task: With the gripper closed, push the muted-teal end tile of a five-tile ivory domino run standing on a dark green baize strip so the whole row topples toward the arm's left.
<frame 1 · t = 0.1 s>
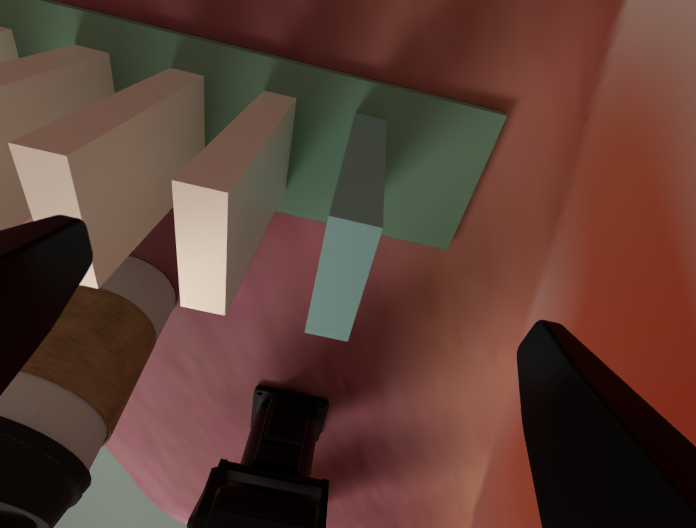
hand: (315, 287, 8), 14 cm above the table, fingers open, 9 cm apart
domino 2: (275, 143, 21), point 1 cm above the table, touching baize strip
coffee cup: (136, 285, 29), on the table
baize strip: (240, 131, 21), on the table
domino 5: (10, 81, 20), point 1 cm above the table, touching baize strip
domino 3: (189, 123, 20), point 1 cm above the table, touching baize strip
domino 1: (359, 163, 21), point 1 cm above the table, touching baize strip
domino 4: (100, 102, 20), point 1 cm above the table, touching baize strip
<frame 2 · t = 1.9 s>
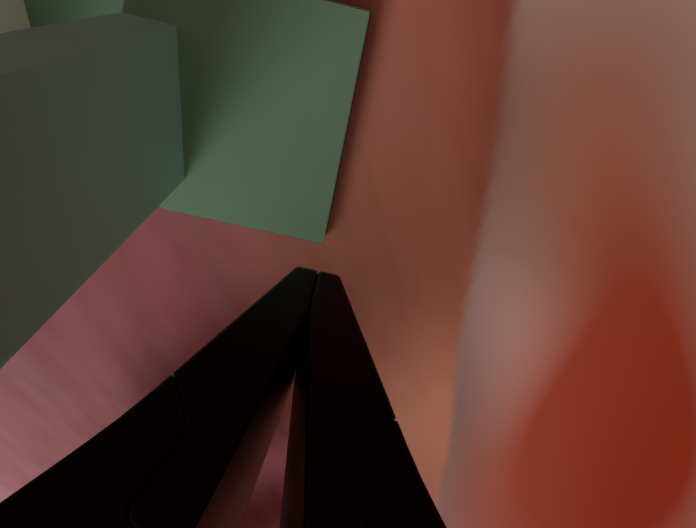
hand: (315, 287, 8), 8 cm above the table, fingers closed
domino 2: (18, 72, 13), point 1 cm above the table, touching baize strip
domino 1: (156, 105, 13), point 1 cm above the table, touching baize strip
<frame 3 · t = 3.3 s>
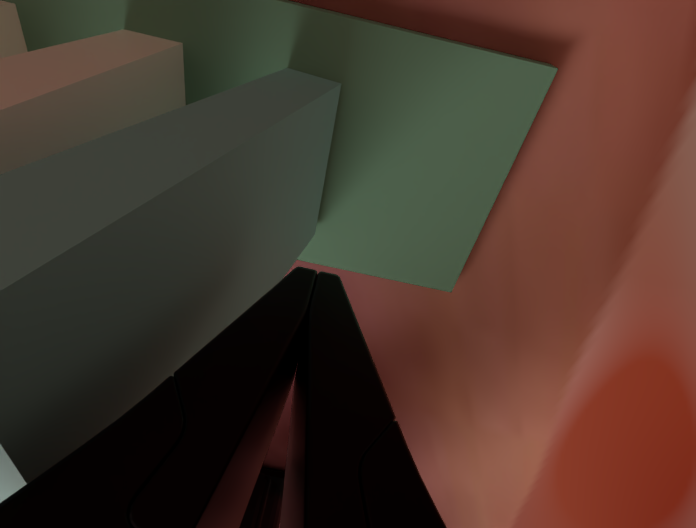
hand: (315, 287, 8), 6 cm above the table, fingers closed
domino 2: (161, 126, 12), point 1 cm above the table, touching baize strip
baize strip: (107, 106, 13), on the table
domino 3: (13, 93, 12), point 1 cm above the table, touching baize strip
domino 1: (302, 160, 12), point 1 cm above the table, tilted 12°, touching baize strip
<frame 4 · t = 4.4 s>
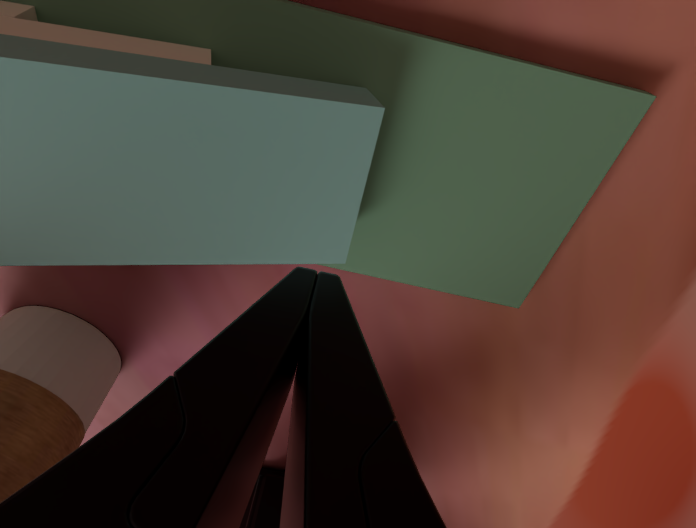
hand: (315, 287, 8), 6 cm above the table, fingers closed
domino 2: (211, 148, 12), point 1 cm above the table, tilted 70°, touching baize strip, domino 1, domino 3
coffee cup: (66, 344, 21), on the table
baize strip: (194, 125, 13), on the table
domino 3: (49, 110, 12), point 1 cm above the table, tilted 69°, touching baize strip, domino 2, domino 4
domino 1: (355, 182, 12), point 1 cm above the table, tilted 70°, touching domino 2
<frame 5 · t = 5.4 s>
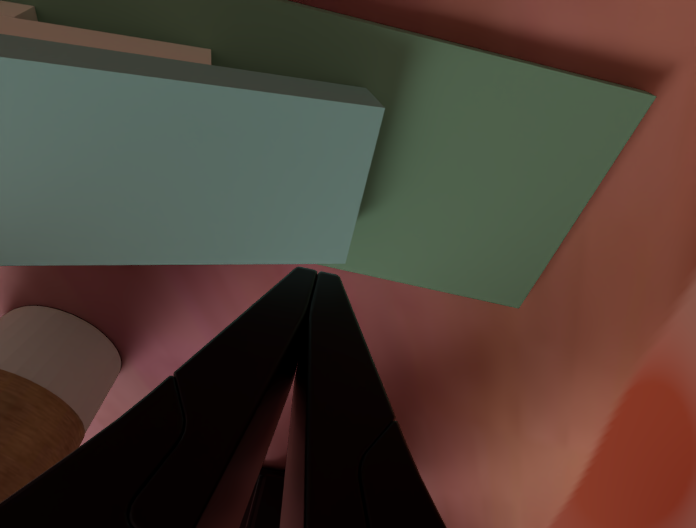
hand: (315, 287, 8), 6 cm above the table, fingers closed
domino 2: (211, 148, 12), point 1 cm above the table, tilted 70°, touching baize strip, domino 1, domino 3
coffee cup: (66, 344, 21), on the table
baize strip: (194, 125, 13), on the table
domino 3: (49, 110, 12), point 1 cm above the table, tilted 69°, touching baize strip, domino 2, domino 4
domino 1: (355, 182, 12), point 1 cm above the table, tilted 70°, touching domino 2
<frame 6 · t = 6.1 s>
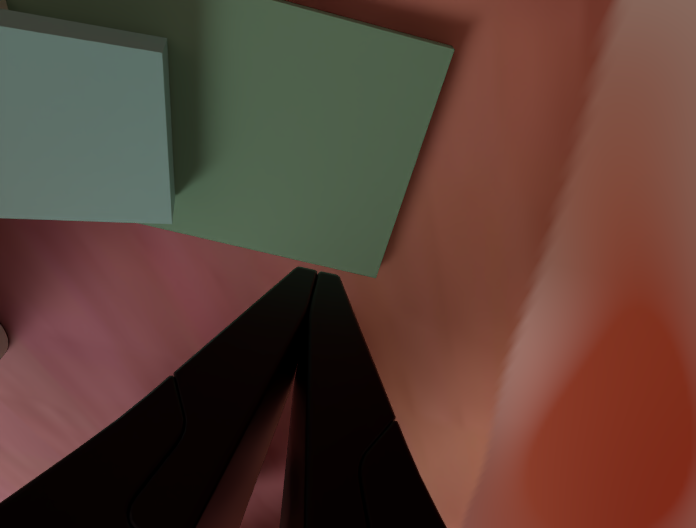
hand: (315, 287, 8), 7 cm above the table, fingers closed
baize strip: (17, 80, 13), on the table
domino 1: (169, 138, 12), point 1 cm above the table, tilted 70°, touching domino 2
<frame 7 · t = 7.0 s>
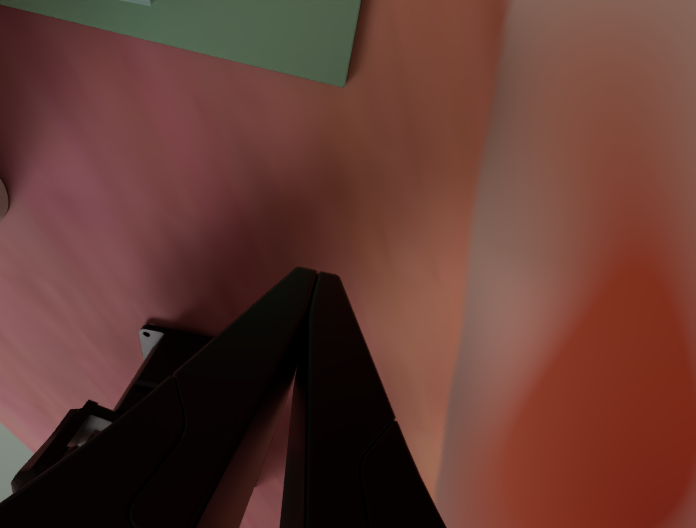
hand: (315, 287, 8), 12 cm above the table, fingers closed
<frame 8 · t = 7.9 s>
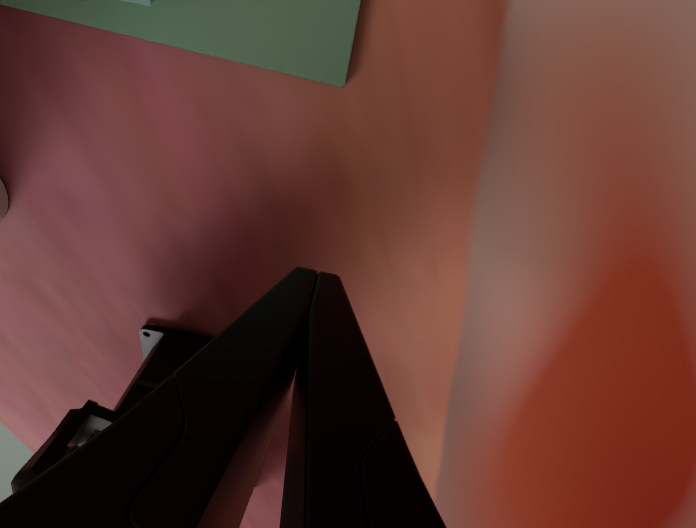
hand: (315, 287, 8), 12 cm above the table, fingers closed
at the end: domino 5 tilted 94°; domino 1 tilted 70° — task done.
